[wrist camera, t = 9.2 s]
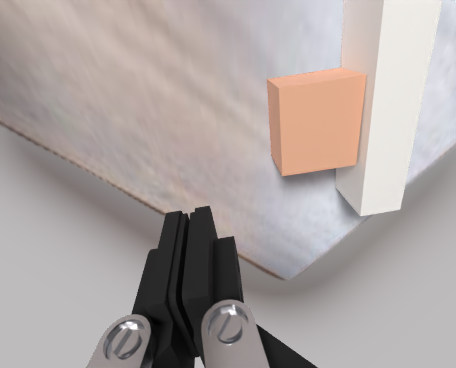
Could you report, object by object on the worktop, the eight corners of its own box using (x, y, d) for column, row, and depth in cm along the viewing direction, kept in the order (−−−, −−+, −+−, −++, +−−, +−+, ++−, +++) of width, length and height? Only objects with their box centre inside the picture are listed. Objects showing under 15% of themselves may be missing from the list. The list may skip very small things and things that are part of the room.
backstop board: (397, -63, 21) (461, -95, 15) (368, 180, 32) (400, 209, 26) (346, -53, 21) (393, -82, 16) (334, 186, 32) (360, 216, 26)
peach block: (339, 67, 25) (366, 74, 21) (333, 145, 29) (355, 164, 25) (266, 78, 25) (278, 88, 21) (271, 155, 29) (282, 176, 25)
